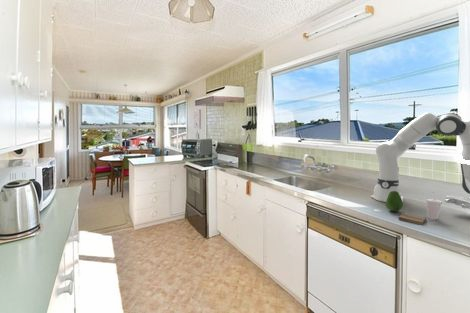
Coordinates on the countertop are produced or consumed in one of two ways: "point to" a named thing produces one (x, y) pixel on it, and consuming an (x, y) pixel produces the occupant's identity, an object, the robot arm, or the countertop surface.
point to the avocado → (394, 201)
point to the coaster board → (412, 218)
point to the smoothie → (433, 207)
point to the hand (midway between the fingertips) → (454, 203)
